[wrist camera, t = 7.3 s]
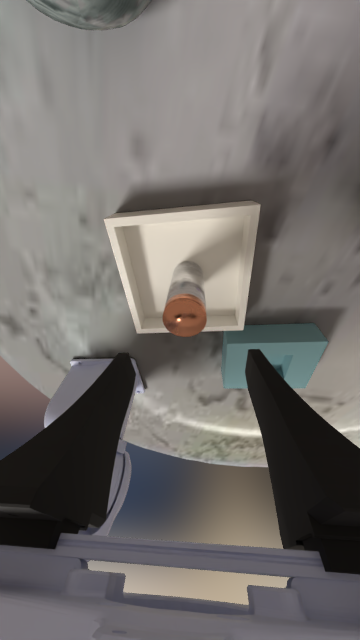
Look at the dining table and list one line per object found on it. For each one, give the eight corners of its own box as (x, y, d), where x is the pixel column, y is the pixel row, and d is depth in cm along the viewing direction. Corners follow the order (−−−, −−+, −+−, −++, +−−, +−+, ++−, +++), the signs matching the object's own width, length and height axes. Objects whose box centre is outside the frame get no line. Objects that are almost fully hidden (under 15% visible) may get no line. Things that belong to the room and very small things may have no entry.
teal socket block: (221, 369, 28) (223, 388, 25) (223, 326, 23) (227, 343, 21) (295, 368, 27) (305, 388, 24) (314, 323, 22) (328, 341, 20)
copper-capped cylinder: (177, 293, 20) (169, 339, 14) (168, 265, 18) (156, 306, 13) (206, 286, 19) (210, 333, 14) (200, 257, 18) (201, 297, 12)
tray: (142, 319, 23) (137, 333, 21) (114, 213, 16) (103, 219, 14) (238, 315, 22) (243, 330, 20) (251, 200, 15) (260, 204, 13)
